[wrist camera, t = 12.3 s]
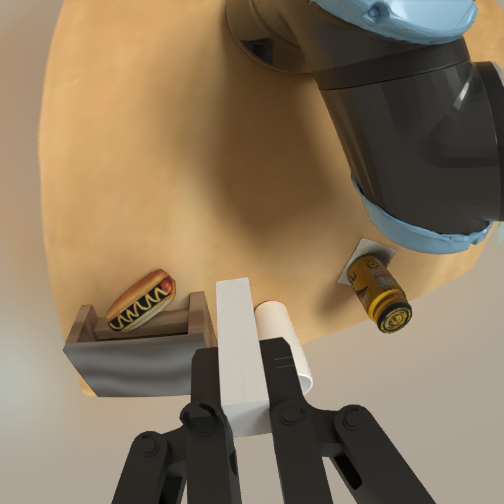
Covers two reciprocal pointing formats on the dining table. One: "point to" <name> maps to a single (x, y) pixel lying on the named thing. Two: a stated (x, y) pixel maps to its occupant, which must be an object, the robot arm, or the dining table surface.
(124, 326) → the hot dog
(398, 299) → the condiment
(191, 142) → the dining table surface
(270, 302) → the white tapered cylinder
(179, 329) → the gray-topped wooden box
